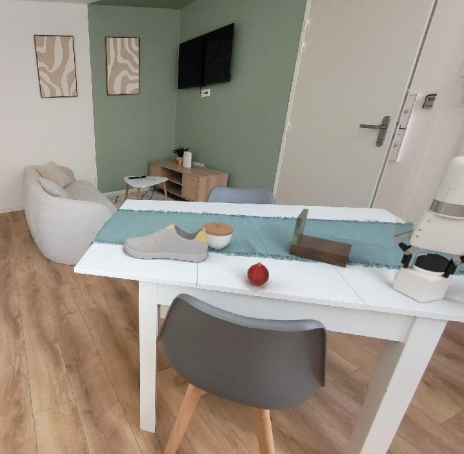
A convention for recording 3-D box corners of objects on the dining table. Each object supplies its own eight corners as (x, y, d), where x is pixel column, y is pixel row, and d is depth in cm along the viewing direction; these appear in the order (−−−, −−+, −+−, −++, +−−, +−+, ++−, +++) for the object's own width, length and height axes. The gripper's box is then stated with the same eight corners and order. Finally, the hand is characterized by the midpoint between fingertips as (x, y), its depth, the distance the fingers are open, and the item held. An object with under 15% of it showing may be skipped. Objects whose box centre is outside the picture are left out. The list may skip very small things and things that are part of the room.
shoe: (206, 266, 99) (209, 234, 94) (121, 256, 108) (121, 226, 104) (206, 252, 108) (209, 222, 103) (128, 244, 117) (128, 216, 113)
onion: (250, 277, 92) (254, 255, 89) (269, 284, 88) (274, 261, 85) (242, 285, 88) (246, 262, 85) (262, 293, 84) (266, 269, 81)
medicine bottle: (442, 299, 78) (462, 260, 73) (420, 303, 77) (439, 264, 72) (412, 284, 84) (428, 247, 79) (391, 288, 83) (406, 251, 78)
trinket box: (203, 238, 119) (205, 217, 116) (231, 242, 115) (234, 220, 111) (199, 249, 110) (201, 227, 107) (229, 254, 106) (232, 230, 102)
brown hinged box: (348, 254, 101) (360, 217, 96) (345, 267, 94) (357, 228, 88) (295, 242, 111) (303, 208, 106) (289, 253, 104) (297, 217, 99)
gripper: (506, 211, 68) (471, 275, 75) (403, 198, 79) (381, 255, 86) (515, 220, 63) (477, 289, 70) (403, 205, 74) (380, 266, 81)
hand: (424, 270), depth 78 cm, fingers closed on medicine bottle, 6 cm apart
